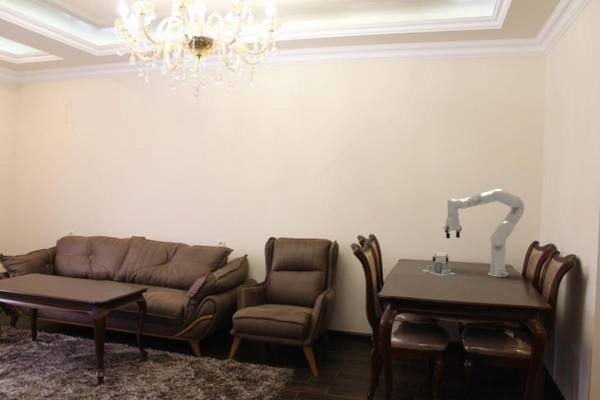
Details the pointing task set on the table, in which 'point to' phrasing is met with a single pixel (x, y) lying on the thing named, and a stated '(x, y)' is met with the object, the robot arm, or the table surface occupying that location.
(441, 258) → the pneumatic valve
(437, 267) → the hub
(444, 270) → the seat
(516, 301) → the table surface
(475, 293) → the table surface
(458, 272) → the table surface
